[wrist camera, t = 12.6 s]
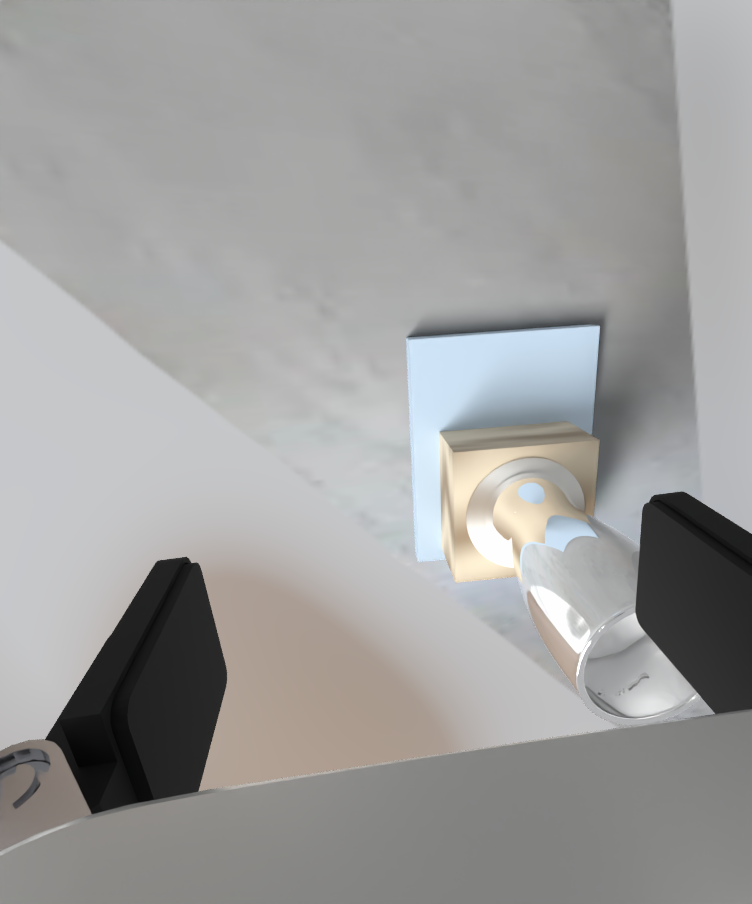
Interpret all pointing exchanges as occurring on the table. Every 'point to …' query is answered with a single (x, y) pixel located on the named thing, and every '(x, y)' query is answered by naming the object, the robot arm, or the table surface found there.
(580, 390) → the blueprint board
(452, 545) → the plinth
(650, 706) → the beer glass
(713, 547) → the robot arm
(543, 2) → the table surface
